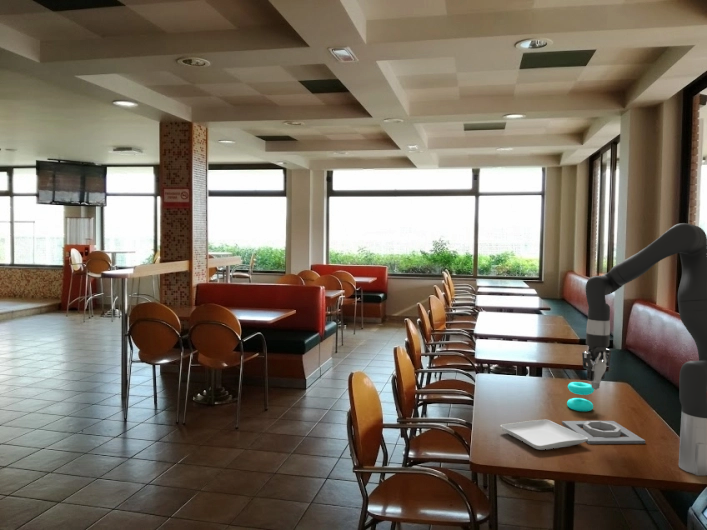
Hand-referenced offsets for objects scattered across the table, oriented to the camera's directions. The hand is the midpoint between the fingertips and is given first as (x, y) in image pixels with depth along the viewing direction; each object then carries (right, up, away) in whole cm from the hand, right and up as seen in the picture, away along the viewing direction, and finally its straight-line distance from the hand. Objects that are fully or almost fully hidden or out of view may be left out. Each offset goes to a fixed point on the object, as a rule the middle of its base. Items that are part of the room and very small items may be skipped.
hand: (595, 379), depth 197 cm
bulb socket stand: (+3, -20, +2) cm, 20 cm away
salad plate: (-21, -20, -5) cm, 29 cm away
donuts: (+7, -18, +30) cm, 36 cm away
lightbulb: (0, -4, 0) cm, 4 cm away
